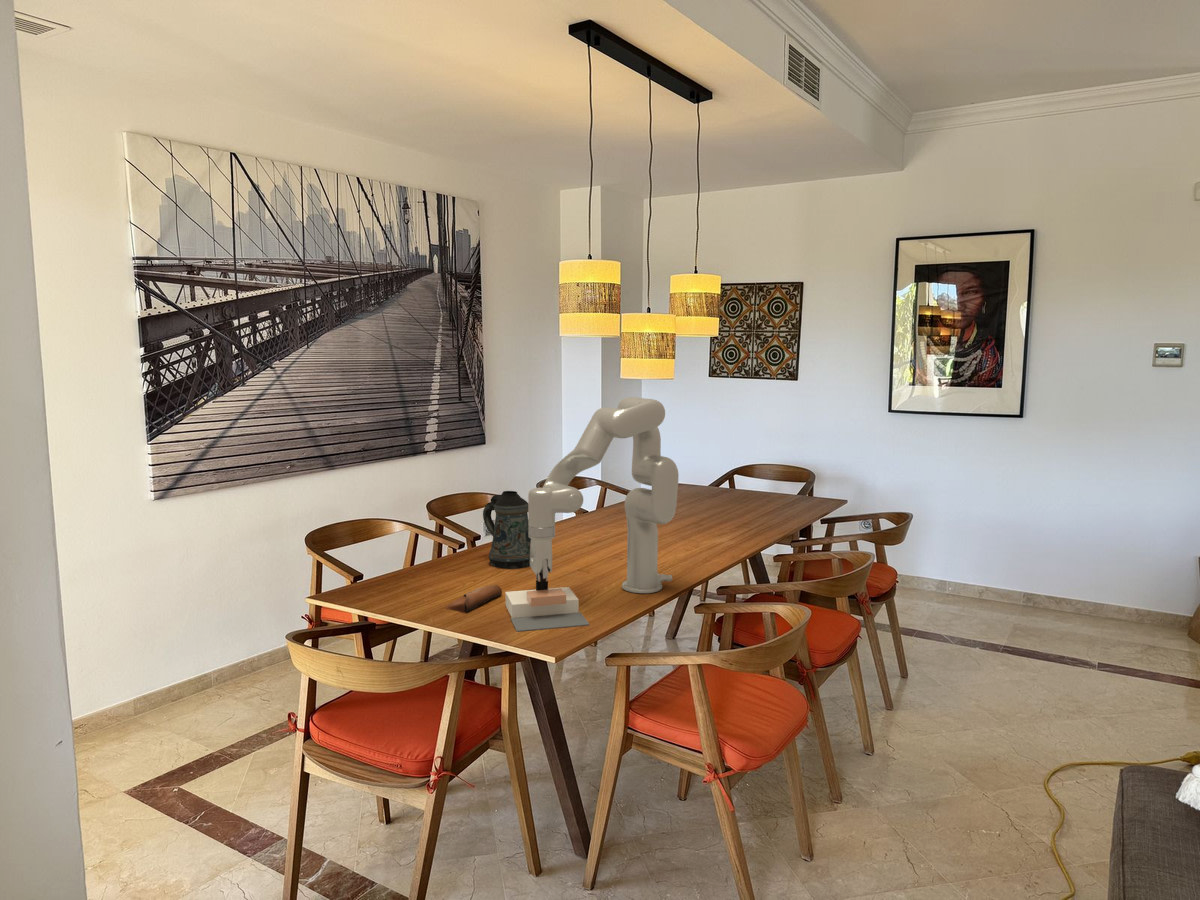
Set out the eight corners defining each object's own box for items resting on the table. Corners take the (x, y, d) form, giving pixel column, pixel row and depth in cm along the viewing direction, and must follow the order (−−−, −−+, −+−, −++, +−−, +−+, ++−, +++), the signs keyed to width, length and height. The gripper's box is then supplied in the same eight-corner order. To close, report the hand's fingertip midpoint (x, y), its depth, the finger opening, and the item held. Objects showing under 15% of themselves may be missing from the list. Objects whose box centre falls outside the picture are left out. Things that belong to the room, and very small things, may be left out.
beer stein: (532, 570, 273) (532, 497, 270) (475, 568, 275) (474, 496, 271) (539, 557, 290) (539, 488, 286) (485, 555, 291) (484, 487, 288)
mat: (580, 613, 230) (580, 612, 230) (589, 625, 221) (589, 624, 221) (510, 619, 225) (510, 618, 225) (516, 631, 215) (516, 630, 215)
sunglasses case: (479, 591, 249) (488, 574, 247) (495, 605, 247) (505, 589, 245) (443, 608, 233) (452, 591, 231) (460, 624, 231) (470, 606, 229)
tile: (561, 596, 232) (561, 588, 232) (566, 603, 226) (566, 594, 226) (526, 599, 229) (526, 591, 229) (531, 606, 224) (531, 597, 223)
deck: (568, 600, 242) (568, 587, 242) (578, 612, 231) (578, 599, 230) (505, 605, 237) (505, 591, 237) (512, 618, 226) (512, 604, 225)
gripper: (524, 526, 236) (524, 587, 239) (533, 538, 222) (533, 603, 224) (549, 525, 238) (549, 585, 240) (560, 537, 224) (560, 601, 226)
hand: (541, 594), depth 232 cm, fingers closed
